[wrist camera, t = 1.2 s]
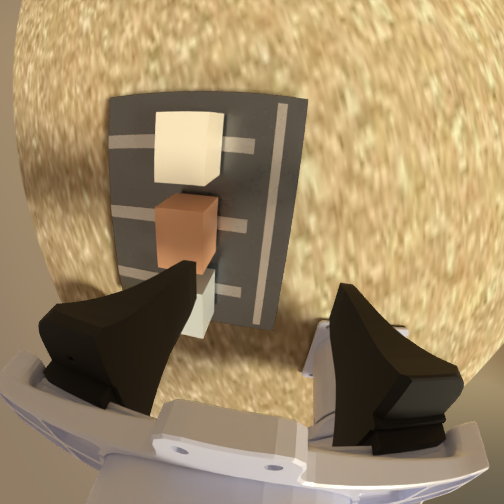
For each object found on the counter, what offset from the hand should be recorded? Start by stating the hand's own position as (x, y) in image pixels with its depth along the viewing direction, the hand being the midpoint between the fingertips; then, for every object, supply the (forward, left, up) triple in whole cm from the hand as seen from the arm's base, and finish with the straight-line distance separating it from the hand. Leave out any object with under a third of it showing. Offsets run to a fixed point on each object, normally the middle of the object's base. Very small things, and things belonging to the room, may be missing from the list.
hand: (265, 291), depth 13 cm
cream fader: (+5, -5, -7) cm, 10 cm away
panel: (+6, 0, -9) cm, 11 cm away
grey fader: (+5, +6, -7) cm, 10 cm away
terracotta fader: (+6, 0, -7) cm, 9 cm away
